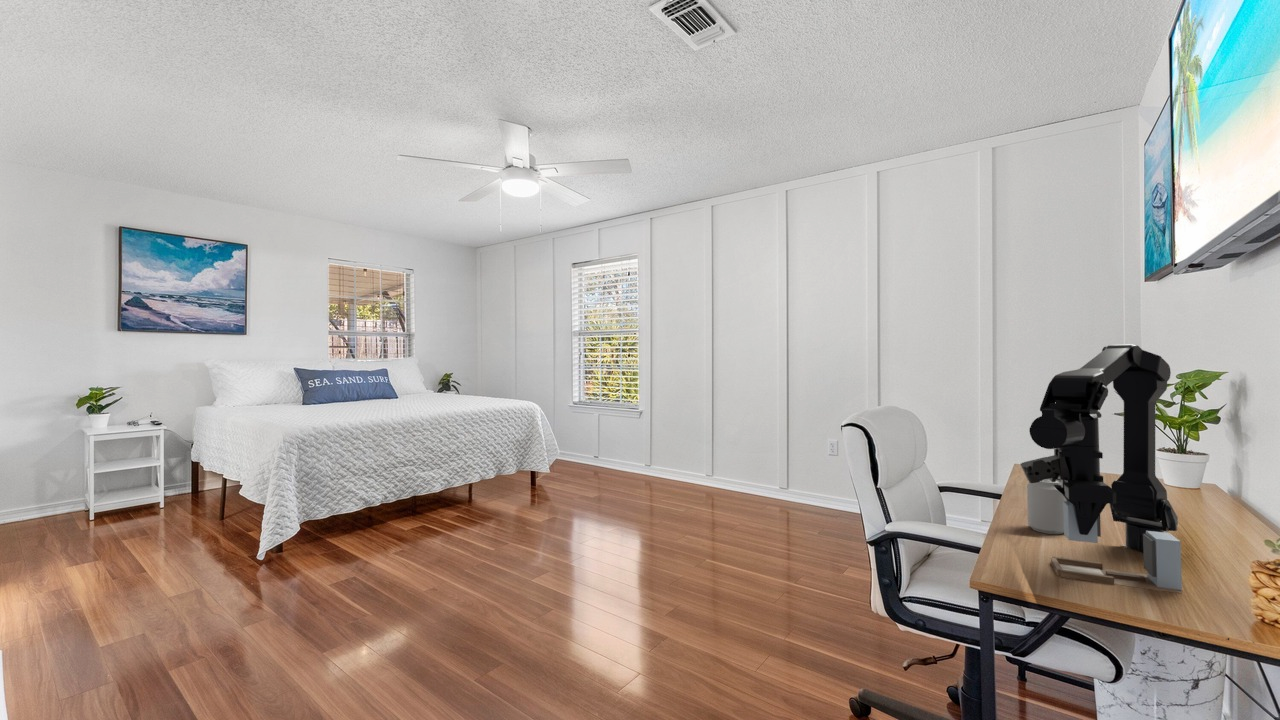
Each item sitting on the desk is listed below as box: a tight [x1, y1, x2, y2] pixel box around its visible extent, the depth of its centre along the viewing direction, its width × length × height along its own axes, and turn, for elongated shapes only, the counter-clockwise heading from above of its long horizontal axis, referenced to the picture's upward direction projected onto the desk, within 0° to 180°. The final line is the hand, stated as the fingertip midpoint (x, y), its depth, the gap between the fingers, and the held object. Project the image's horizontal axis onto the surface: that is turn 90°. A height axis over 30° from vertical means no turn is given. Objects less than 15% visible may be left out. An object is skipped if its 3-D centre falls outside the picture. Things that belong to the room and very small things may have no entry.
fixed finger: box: [1142, 531, 1183, 591], centre depth 92 cm, size 5×4×8 cm
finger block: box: [1063, 501, 1102, 544], centre depth 97 cm, size 4×4×6 cm
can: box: [1026, 479, 1066, 535], centre depth 126 cm, size 8×8×12 cm
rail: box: [1049, 556, 1182, 594], centre depth 95 cm, size 8×16×2 cm, turn 61°
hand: (1080, 531), depth 97 cm, fingers closed on finger block, 4 cm apart
